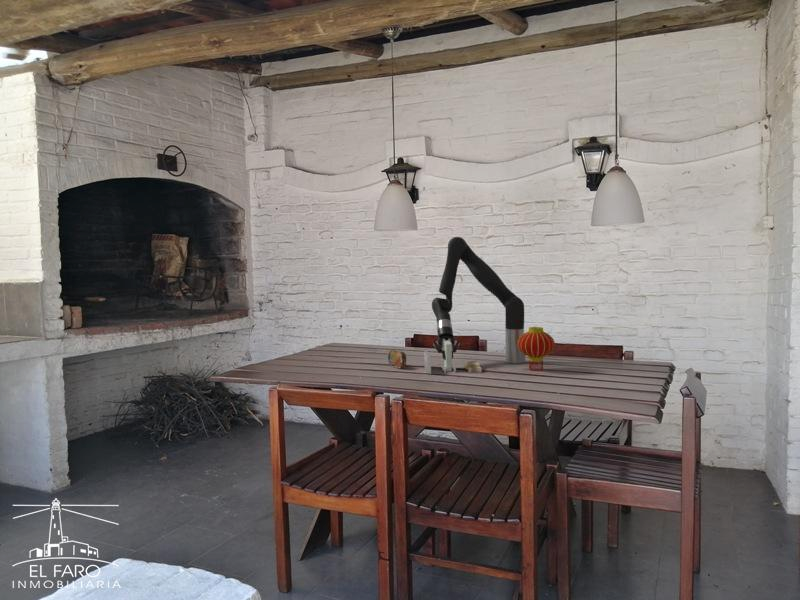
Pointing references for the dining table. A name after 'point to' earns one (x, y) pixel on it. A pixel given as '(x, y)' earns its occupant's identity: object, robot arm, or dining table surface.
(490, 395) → the dining table surface
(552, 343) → the lantern
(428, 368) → the rack
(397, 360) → the tin
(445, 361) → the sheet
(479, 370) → the offcuts
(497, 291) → the robot arm
